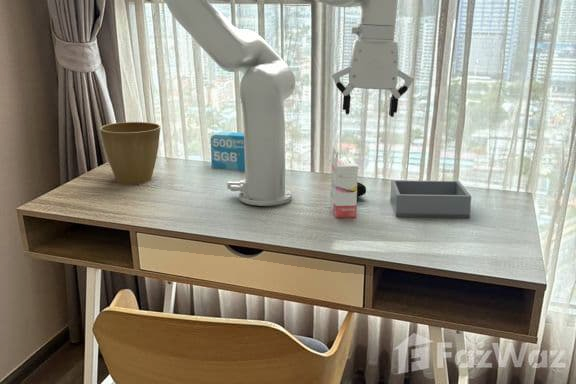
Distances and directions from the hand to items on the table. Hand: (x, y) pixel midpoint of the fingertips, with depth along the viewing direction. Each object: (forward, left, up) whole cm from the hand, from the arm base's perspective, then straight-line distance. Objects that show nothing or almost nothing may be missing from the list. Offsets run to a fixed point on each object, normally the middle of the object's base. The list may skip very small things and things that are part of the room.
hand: (369, 114), depth 133 cm
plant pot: (-59, +17, -22) cm, 65 cm away
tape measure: (-1, +9, -22) cm, 24 cm away
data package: (-35, +29, -22) cm, 51 cm away
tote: (+14, +2, -22) cm, 26 cm away
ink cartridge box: (-5, -2, -22) cm, 23 cm away
